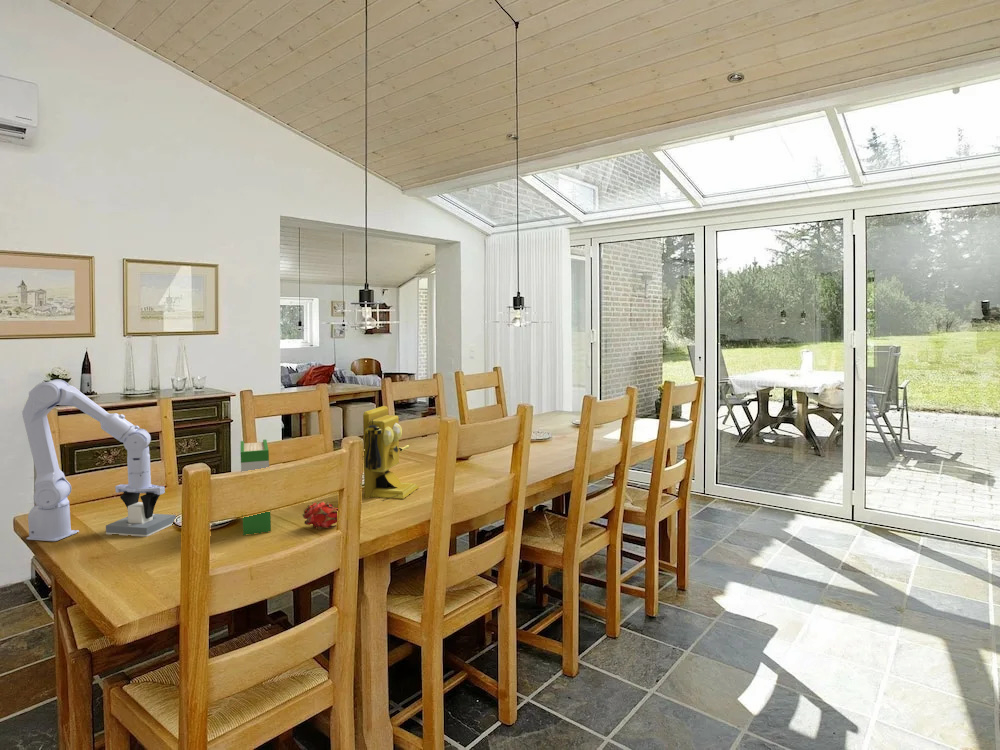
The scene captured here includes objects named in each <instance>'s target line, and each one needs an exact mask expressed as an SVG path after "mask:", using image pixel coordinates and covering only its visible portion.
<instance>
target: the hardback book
mask: <svg viewBox="0 0 1000 750" xmlns="http://www.w3.org/2000/svg"><path fill="white" fill-rule="evenodd" d="M239 451H240V473H241V472H242V471H248V470H255V469H261V468H266V467H269V468H270V456H269V455H270V454H269V452H270V451H269V447H268V441H267V439H263V440H262V441H261V442H246V443H245V442H244V440H240V450H239ZM271 517H272V516H271V511H270V512H265V513H261V514H257V515H253V516H249V517H244V518H243V517H242V536H247V535H246V534H251V535H255V534H254V533H259V534H262V533H261V532H267V533H269V532H268V531H271V532H272V529H271V528H272V527H271V526H272V524H271V522H272V521H271V519H272V518H271Z"/></svg>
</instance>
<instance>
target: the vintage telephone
mask: <svg viewBox="0 0 1000 750" xmlns="http://www.w3.org/2000/svg"><path fill="white" fill-rule="evenodd" d="M399 417H400V416H398V415H389V408H388V406H386V405H382V406H378V407H376V408H372V409H369V410H366V411H363V413H362V418H363V420H362V424H363V430H362V431H363V452H364V456H363V486H364V489H363V491H364V492H363V493H364V494H363V495H364V499H369V498H368V497H370V498H376V497H381V498H380V499H383V500H381V501H382V502H384V501H386V500H389V499H390V498H396V499H395V500H404V499H406V498H407V497H408V496H410V495H411V494H413V493H414V492H415V491H417V490H418V489H419V488H420V486H418V485H417V484H416V483H413V482H412V483H411V482H402V481H401V479H399V477H398V476H397V474H396V473H394V472H393V471H390V469H391V468H393V467H395V466H396V465H399V464H400V452H403V451H405V450H407V449H409V448H410V444H407V445H405V446H404V447H403V446H402V447H401V446H400V441H399V440H400V439H401V438H402V436H403V435H402V434H403V427H402V426H401V425H400V424H399V421H400V420H399ZM364 449H365V451H364ZM416 489H417V490H416ZM412 492H413V493H412ZM409 494H410V495H409ZM405 497H406V498H405Z"/></svg>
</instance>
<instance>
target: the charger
mask: <svg viewBox="0 0 1000 750" xmlns="http://www.w3.org/2000/svg"><path fill="white" fill-rule="evenodd" d="M127 517H128V523H140V524H144V523H146V522H148V521H150V520H153V515H152V517H150V518H148V519H146V518H145V513H144V506H143V502H142V501H138V502H137V503H135V504H132V505H130V506H128V509H127Z"/></svg>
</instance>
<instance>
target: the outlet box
mask: <svg viewBox="0 0 1000 750" xmlns="http://www.w3.org/2000/svg"><path fill="white" fill-rule="evenodd" d="M174 519H177V517H176V514H167V513H166V514H165V513H164V514H163V513H153V520H150V521H148V522H146V523H144V524H140V523H128V516H125V517H123V518H120V519H117V520H116V521H114V522H111V523H108V524H106V525H105V535H112V534H119V535H118V536H128V535H131V536H132V537H145V538H146V537H149V536H151V535H154V534H156V533H158V532H160V531H162V530H164V529H166V528H168V527H171V526H173V525H174V524H173V522H174ZM172 524H173V525H172Z"/></svg>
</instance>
